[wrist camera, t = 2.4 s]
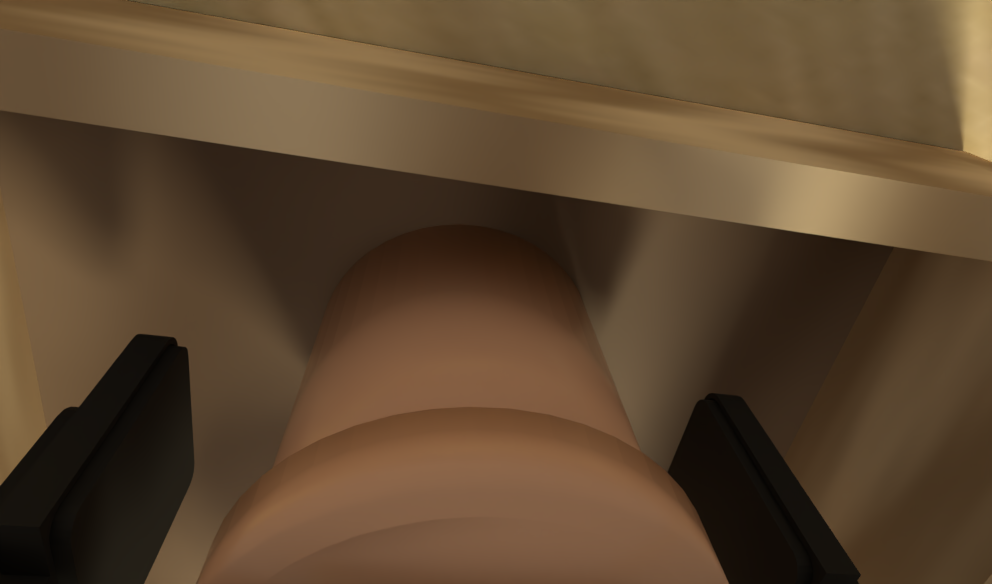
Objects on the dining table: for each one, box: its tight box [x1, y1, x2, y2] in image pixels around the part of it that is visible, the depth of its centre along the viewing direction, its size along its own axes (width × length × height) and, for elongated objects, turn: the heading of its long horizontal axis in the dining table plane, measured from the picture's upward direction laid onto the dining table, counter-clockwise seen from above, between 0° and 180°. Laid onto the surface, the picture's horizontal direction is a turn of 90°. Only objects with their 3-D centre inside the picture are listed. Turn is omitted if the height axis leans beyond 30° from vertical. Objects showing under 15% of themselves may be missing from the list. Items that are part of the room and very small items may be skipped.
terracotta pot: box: [196, 224, 729, 584], centre depth 11 cm, size 7×7×8 cm
